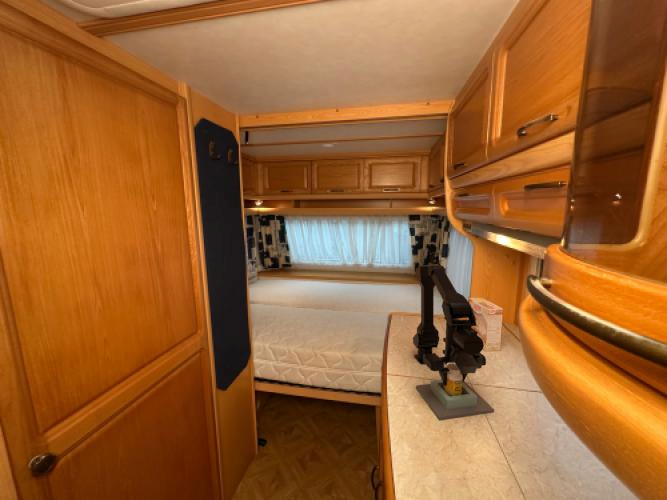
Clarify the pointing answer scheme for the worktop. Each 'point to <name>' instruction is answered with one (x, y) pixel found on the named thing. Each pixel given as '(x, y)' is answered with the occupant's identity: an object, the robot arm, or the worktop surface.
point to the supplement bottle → (453, 381)
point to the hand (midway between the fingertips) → (452, 383)
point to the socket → (453, 401)
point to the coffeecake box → (487, 322)
